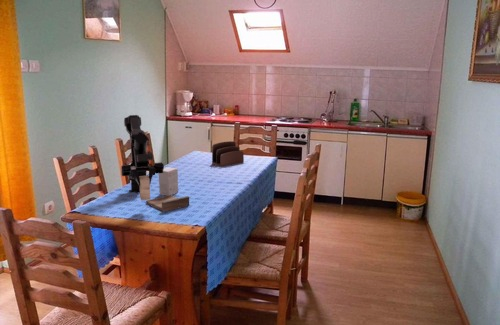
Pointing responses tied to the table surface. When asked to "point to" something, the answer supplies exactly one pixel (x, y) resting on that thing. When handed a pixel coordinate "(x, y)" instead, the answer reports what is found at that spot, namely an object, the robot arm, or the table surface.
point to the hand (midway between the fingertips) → (144, 185)
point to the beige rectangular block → (144, 187)
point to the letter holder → (226, 154)
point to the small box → (168, 181)
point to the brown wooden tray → (168, 202)
